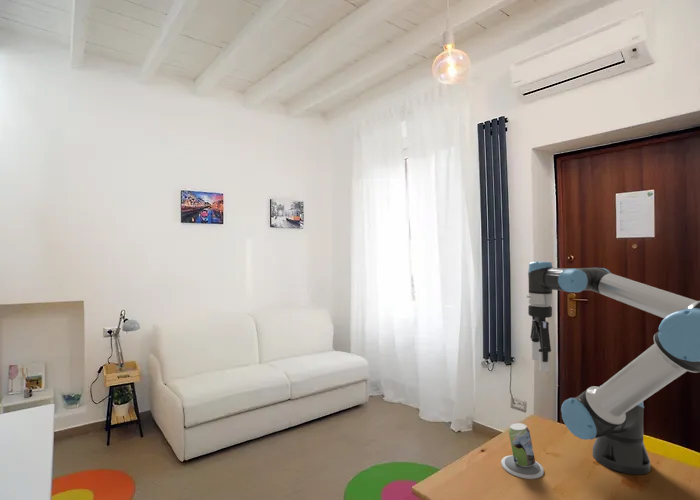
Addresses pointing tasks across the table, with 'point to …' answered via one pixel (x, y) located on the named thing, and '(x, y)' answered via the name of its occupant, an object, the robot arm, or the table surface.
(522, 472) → the grey white round coaster
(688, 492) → the table surface
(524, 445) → the beverage can
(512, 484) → the table surface
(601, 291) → the robot arm
